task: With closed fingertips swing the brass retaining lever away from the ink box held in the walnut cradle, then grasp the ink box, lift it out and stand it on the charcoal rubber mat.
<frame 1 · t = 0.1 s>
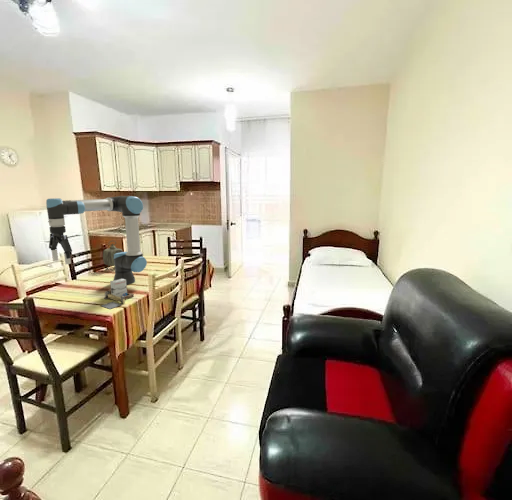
hand: (61, 262, 176), 28 cm above the table, fingers open, 13 cm apart
tabletop clock: (114, 268, 267), on the table
charcoal mat: (111, 305, 186), on the table
brass lever: (114, 296, 193), point 3 cm above the table, hinge at 3.1°
ink box: (119, 297, 199), on the table
walnut cradle: (119, 297, 199), on the table
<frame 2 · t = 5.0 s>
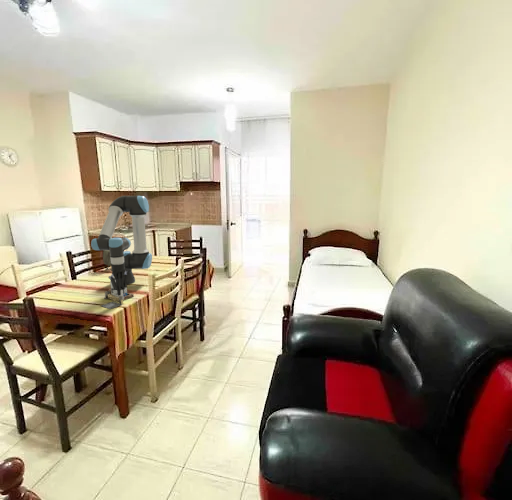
hand: (121, 299, 190), 2 cm above the table, fingers closed
brass lever: (113, 296, 192), point 3 cm above the table, hinge at 7.0°, touching gripper
everything else where it was.
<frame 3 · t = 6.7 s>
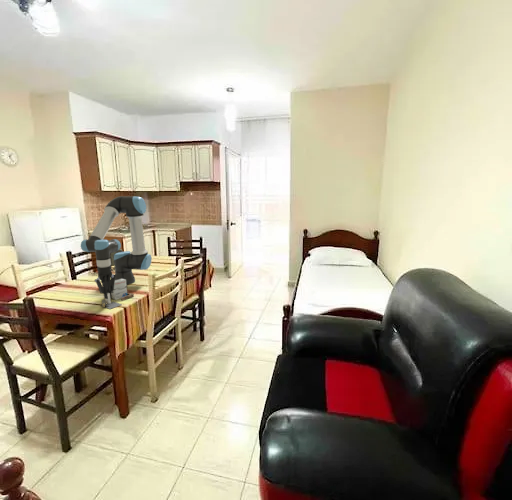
hand: (108, 303, 185), 2 cm above the table, fingers closed
brass lever: (105, 298, 190), point 3 cm above the table, hinge at 40.1°, touching gripper
everything else where it was.
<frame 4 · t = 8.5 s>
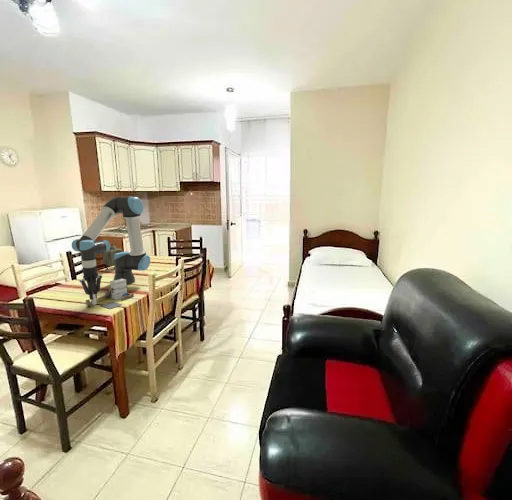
hand: (94, 304, 183), 2 cm above the table, fingers closed
brass lever: (98, 298, 189), point 3 cm above the table, hinge at 72.4°, touching gripper
everything else where it was.
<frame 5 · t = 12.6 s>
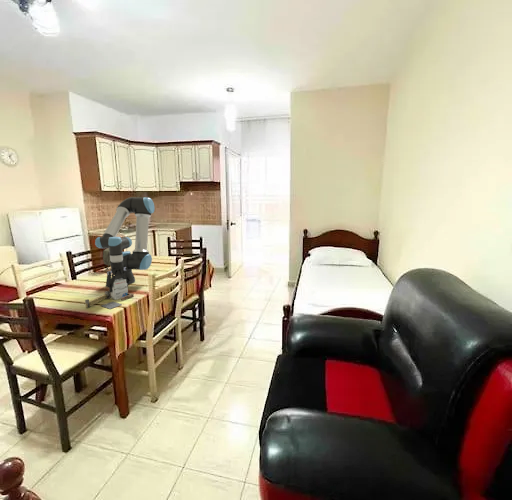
hand: (119, 294, 199), 2 cm above the table, fingers open, 9 cm apart
brass lever: (98, 298, 189), point 3 cm above the table, hinge at 73.7°
ink box: (119, 297, 199), on the table, touching gripper, walnut cradle
everything else where it was.
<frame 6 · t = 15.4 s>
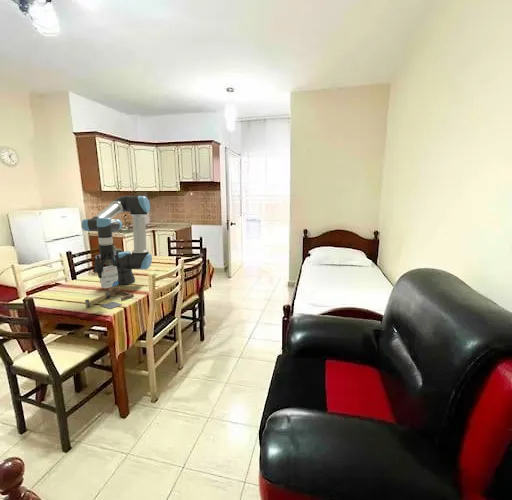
hand: (109, 280, 183), 16 cm above the table, fingers closed on ink box, 9 cm apart
ink box: (109, 286, 183), point 12 cm above the table, touching gripper
everything else where it was.
when the fingers open (3 cm above the table, at t = 18.2 s): ink box stays where it is, resting on charcoal mat.
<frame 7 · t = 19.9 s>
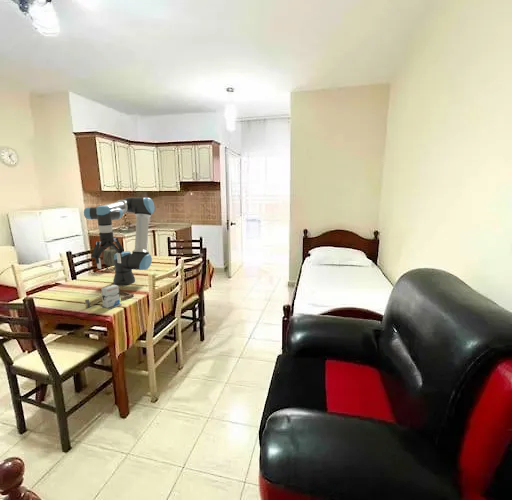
hand: (109, 265, 188), 23 cm above the table, fingers open, 13 cm apart
ink box: (111, 305, 186), resting on charcoal mat
everything else where it was.
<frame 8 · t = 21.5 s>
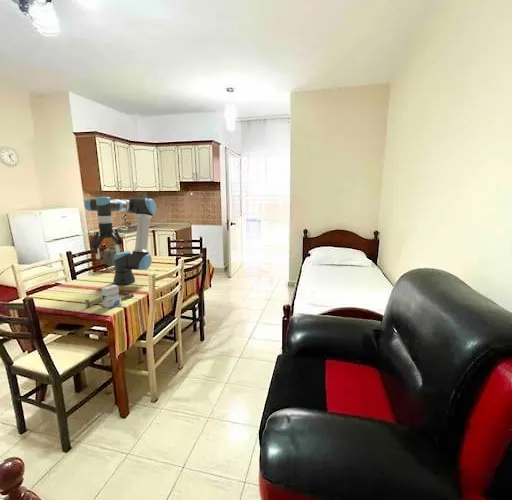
hand: (108, 256, 188), 29 cm above the table, fingers open, 13 cm apart
nothing on the table moved.
at the end: brass lever at +74° (first picture: +3°); ink box inside the target area on the charcoal mat (0.0 cm from its centre), point 0.1 cm above the charcoal mat's base; ink box tilted 0° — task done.
